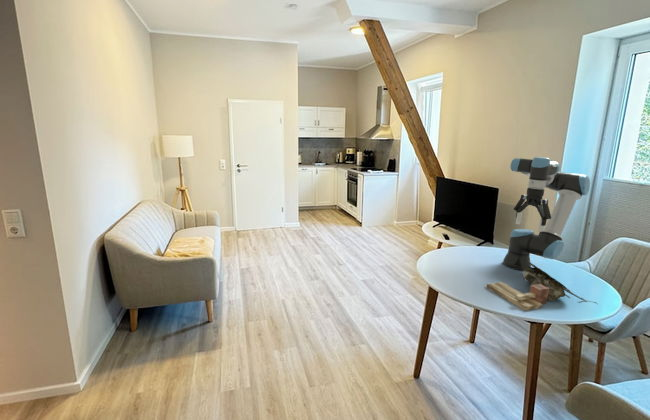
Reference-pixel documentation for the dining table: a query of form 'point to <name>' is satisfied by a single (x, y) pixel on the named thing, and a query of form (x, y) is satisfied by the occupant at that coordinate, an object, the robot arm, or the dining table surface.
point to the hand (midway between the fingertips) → (528, 227)
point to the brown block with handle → (535, 294)
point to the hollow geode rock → (544, 282)
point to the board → (513, 296)
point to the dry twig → (576, 296)
